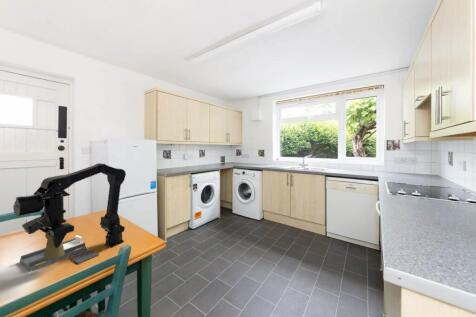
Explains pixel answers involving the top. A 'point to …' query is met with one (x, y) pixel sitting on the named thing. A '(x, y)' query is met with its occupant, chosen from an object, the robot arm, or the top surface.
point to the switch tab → (73, 242)
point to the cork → (52, 248)
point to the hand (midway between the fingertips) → (54, 245)
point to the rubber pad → (84, 256)
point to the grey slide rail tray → (37, 257)
